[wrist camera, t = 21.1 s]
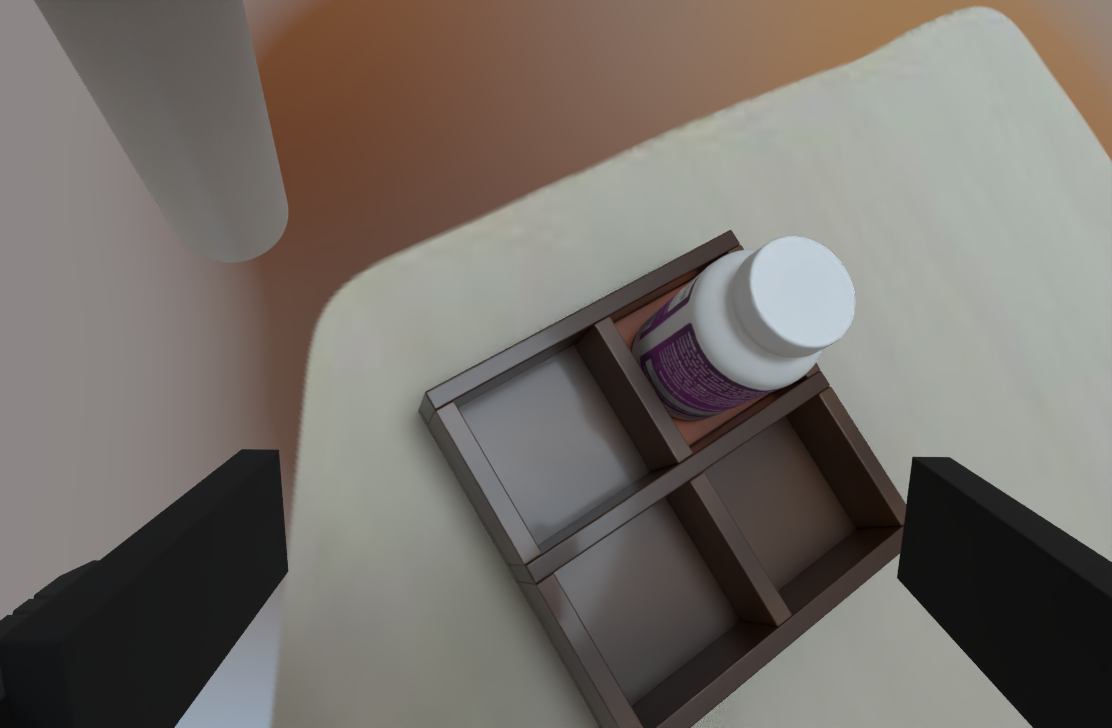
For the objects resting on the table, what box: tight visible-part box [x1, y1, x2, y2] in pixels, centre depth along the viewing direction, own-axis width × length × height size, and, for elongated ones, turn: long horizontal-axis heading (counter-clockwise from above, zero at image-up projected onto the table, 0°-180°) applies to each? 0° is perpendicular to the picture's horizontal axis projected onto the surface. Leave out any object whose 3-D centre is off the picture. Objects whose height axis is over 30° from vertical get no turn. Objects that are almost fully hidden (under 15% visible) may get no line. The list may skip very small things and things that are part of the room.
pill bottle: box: [632, 236, 855, 420], centre depth 28 cm, size 5×5×10 cm
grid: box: [418, 230, 906, 728], centre depth 30 cm, size 15×15×4 cm
